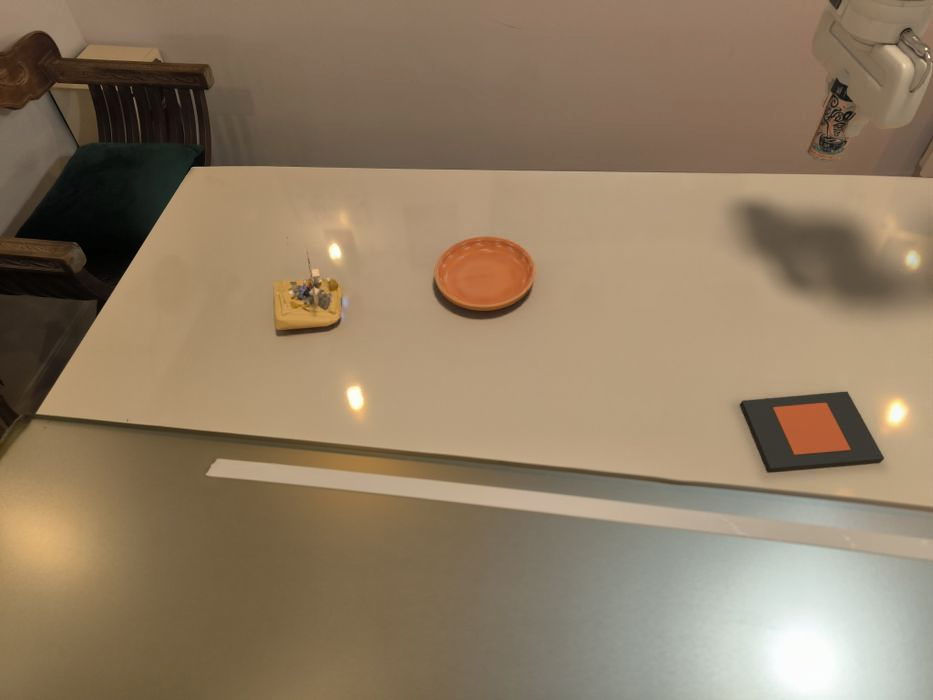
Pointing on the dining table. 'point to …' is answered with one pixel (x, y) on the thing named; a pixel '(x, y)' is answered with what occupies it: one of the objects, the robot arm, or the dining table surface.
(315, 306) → the cake
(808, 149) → the beer can
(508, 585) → the dining table surface
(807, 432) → the mat
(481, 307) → the saucer
